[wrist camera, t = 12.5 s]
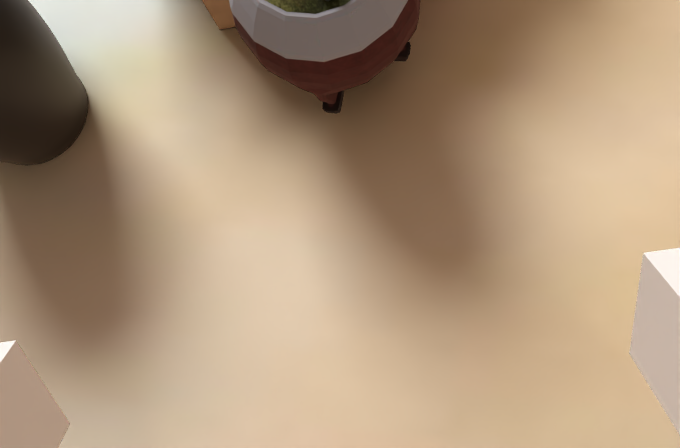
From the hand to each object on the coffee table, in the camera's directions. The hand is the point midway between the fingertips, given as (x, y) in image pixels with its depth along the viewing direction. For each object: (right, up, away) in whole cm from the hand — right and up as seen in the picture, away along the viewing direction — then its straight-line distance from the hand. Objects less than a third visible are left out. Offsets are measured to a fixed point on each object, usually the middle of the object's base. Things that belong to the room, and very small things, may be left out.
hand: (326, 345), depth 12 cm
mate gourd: (+1, +10, +14) cm, 17 cm away
